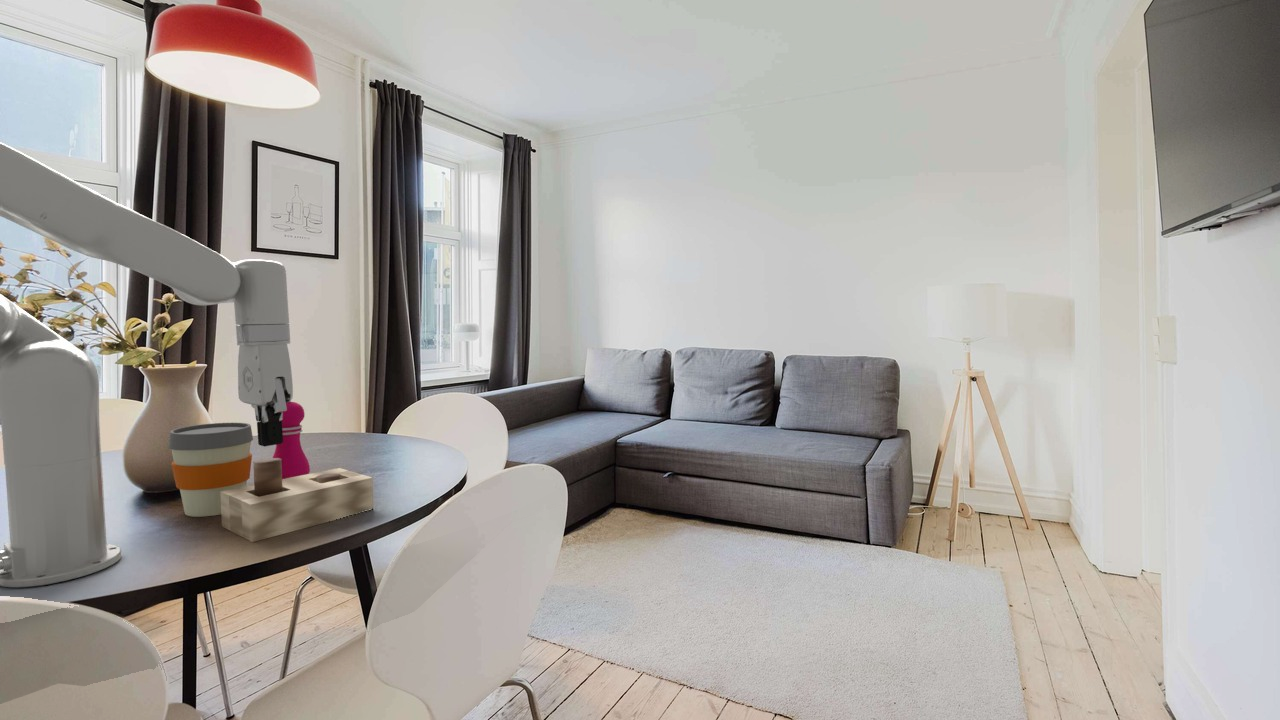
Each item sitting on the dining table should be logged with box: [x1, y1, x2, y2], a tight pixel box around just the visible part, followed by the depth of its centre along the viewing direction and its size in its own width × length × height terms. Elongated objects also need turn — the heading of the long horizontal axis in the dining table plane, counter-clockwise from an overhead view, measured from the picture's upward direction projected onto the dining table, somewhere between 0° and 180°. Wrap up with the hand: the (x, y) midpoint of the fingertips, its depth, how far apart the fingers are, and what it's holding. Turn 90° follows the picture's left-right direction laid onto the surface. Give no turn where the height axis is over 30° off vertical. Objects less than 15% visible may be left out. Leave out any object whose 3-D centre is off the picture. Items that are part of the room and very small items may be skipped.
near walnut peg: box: [252, 457, 283, 497], centre depth 100 cm, size 4×4×6 cm
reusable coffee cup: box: [168, 422, 254, 518], centre depth 109 cm, size 13×13×15 cm
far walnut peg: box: [316, 473, 341, 483], centre depth 109 cm, size 4×4×6 cm
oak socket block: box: [220, 467, 374, 543], centre depth 105 cm, size 20×12×6 cm, turn 144°
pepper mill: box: [272, 401, 311, 479], centre depth 120 cm, size 7×7×20 cm
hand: (270, 444), depth 100 cm, fingers closed
